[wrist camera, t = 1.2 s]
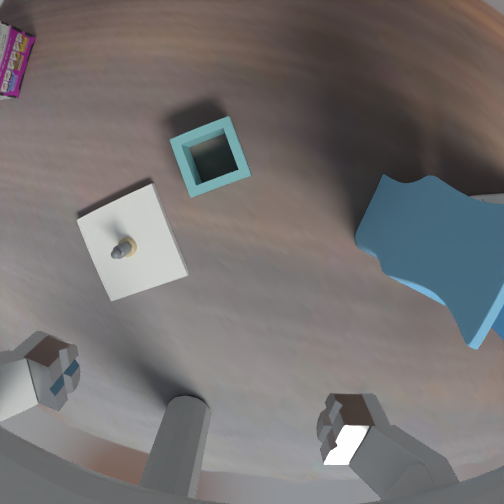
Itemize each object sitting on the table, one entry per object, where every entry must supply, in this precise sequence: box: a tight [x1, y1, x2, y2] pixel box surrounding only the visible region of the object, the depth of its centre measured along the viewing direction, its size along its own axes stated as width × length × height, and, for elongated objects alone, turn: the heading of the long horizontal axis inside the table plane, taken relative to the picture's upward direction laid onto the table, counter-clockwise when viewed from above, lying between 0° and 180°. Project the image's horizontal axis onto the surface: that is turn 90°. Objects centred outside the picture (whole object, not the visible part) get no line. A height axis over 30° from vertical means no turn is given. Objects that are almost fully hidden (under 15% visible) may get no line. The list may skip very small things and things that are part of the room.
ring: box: [170, 116, 252, 198], centre depth 33 cm, size 7×7×4 cm
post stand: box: [77, 183, 189, 301], centre depth 35 cm, size 12×12×5 cm
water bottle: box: [139, 396, 211, 499], centre depth 32 cm, size 9×8×25 cm
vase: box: [355, 174, 504, 349], centre depth 24 cm, size 10×10×25 cm
